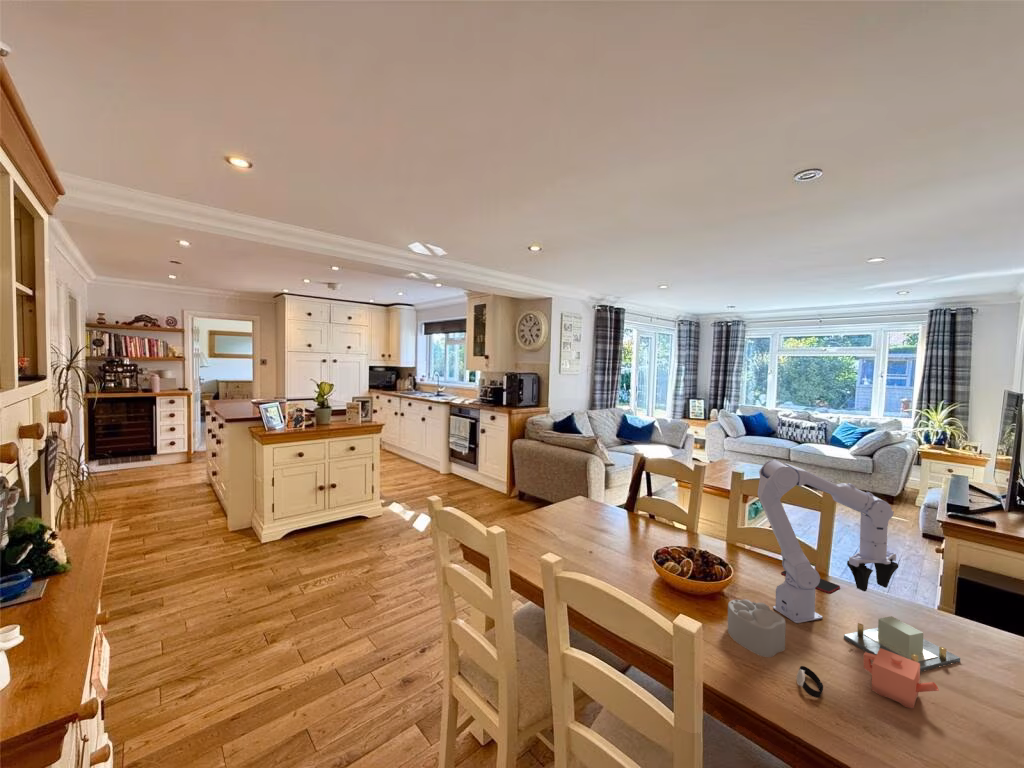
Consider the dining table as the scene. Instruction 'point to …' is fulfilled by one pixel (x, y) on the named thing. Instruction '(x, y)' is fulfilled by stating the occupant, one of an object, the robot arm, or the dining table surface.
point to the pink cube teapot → (896, 677)
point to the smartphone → (823, 585)
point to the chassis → (927, 659)
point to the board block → (900, 635)
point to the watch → (801, 682)
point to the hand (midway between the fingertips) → (871, 587)
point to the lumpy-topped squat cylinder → (756, 627)
